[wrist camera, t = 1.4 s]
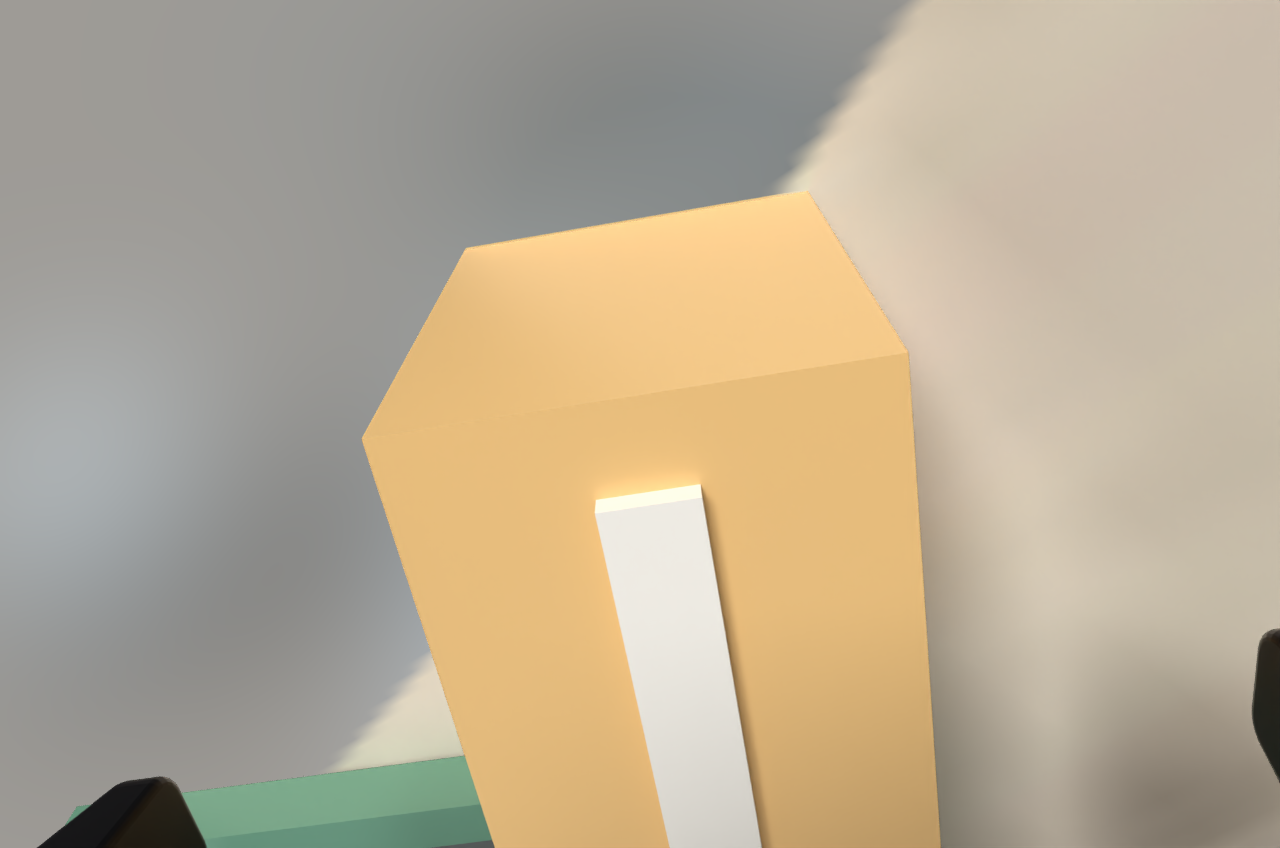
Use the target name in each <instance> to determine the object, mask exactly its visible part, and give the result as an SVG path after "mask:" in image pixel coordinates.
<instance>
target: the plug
mask: <svg viewBox="0 0 1280 848" xmlns="http://www.w3.org/2000/svg"><path fill="white" fill-rule="evenodd" d="M783 194H784V193H783ZM783 194H777V195H771V196H765V197H760V198H754V199H748V200H742V201H736V202H731V203H725V204H719V205H713V206H708V207H701V208H695V209H689V210H684V211H678V212H672V213H666V214H661V215H655V216H649V217H643V218H637V219H631V220H626V221H620V222H614V223H608V224H602V225H596V226H590V227H585V228H579V229H573V230H567V231H561V232H555V233H550V234H544V235H538V236H532V237H527V238H520V239H515V240H509V241H503V242H497V243H492V244H486V245H480V246H474V247H468V248H466V249H465V251H464V253H463V255H462V256H461V258H460V260H459V262H458V264H457V266H456V267H455V269H454V271H453V273H452V275H451V276H450V278H449V280H448V282H447V284H446V286H445V288H444V289H443V291H442V293H441V295H440V297H439V299H438V300H437V302H436V304H435V306H434V308H433V309H432V311H431V313H430V315H429V317H428V318H427V321H426V322H425V324H424V326H423V328H422V329H421V332H420V333H419V335H418V337H417V339H416V340H415V342H414V344H413V346H412V348H411V350H410V351H409V353H408V355H407V357H406V359H405V361H404V363H403V364H402V366H401V368H400V370H399V371H398V373H397V375H396V377H395V379H394V381H393V383H392V384H391V386H390V388H389V390H388V392H387V394H386V395H385V397H384V399H383V401H382V403H381V405H380V406H379V408H378V410H377V412H376V414H375V415H374V417H373V419H372V421H371V423H370V425H369V426H368V428H367V430H366V432H365V434H364V435H363V437H362V442H363V445H364V448H365V451H366V454H367V457H368V460H369V464H370V467H371V470H372V473H373V476H374V479H375V482H376V485H377V488H378V491H379V494H380V497H381V500H382V503H383V506H384V510H385V512H386V516H387V519H388V522H389V525H390V528H391V531H392V534H393V537H394V540H395V543H396V546H397V549H398V552H399V556H400V559H401V562H402V565H403V568H404V571H405V574H406V577H407V580H408V583H409V586H410V589H411V592H412V595H413V598H414V602H415V605H416V607H417V611H418V614H419V617H420V620H421V623H422V626H423V629H424V632H425V635H426V638H427V641H428V644H429V648H430V651H431V654H432V657H433V660H434V663H435V666H436V669H437V672H438V675H439V678H440V681H441V684H442V687H443V690H444V693H445V697H446V700H447V703H448V706H449V709H450V712H451V715H452V718H453V721H454V724H455V727H456V730H457V733H458V736H459V739H460V743H461V746H462V749H463V752H464V755H465V758H466V761H467V764H468V767H469V770H470V773H471V776H472V779H473V782H474V785H475V789H476V792H477V795H478V798H479V801H480V804H481V807H482V810H483V813H484V816H485V819H486V822H487V825H488V828H489V831H490V834H491V838H492V841H493V844H494V847H495V848H941V841H940V826H939V811H938V796H937V780H936V765H935V750H934V735H933V719H932V704H931V689H930V674H929V658H928V643H927V628H926V613H925V597H924V582H923V567H922V552H921V536H920V521H919V506H918V491H917V475H916V460H915V445H914V430H913V414H912V399H911V384H910V369H909V353H908V351H907V349H906V348H905V346H904V345H903V343H902V341H901V340H900V338H899V337H898V335H897V333H896V332H895V330H894V329H893V327H892V325H891V324H890V322H889V321H888V319H887V317H886V316H885V314H884V313H883V311H882V309H881V308H880V306H879V305H878V303H877V301H876V300H875V298H874V297H873V295H872V293H871V292H870V290H869V289H868V287H867V285H866V284H865V282H864V280H863V279H862V277H861V276H860V274H859V272H858V271H857V269H856V268H855V266H854V264H853V263H852V261H851V260H850V258H849V256H848V255H847V253H846V252H845V250H844V248H843V247H842V245H841V244H840V242H839V240H838V239H837V237H836V236H835V234H834V232H833V231H832V229H831V228H830V226H829V224H828V223H827V221H826V220H825V218H824V216H823V215H822V213H821V212H820V210H819V208H818V207H817V205H816V204H815V202H814V200H813V199H812V197H811V195H810V194H809V192H808V191H806V192H800V193H794V194H788V195H783Z"/></svg>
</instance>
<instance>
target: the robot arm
mask: <svg viewBox="0 0 1280 848" xmlns="http://www.w3.org/2000/svg"><path fill="white" fill-rule="evenodd" d="M1252 720H1253V725H1254V730H1255V733H1256V735H1257V738H1258V741H1259V743H1260V745H1261V747H1262V749H1263V751H1264V753H1265V755H1266V757H1267V759H1268V761H1269V763H1270V765H1271V767H1272V768H1273V770H1274V772H1275V774H1276V776H1277V778H1278V780H1279V782H1280V628H1279V629H1273V630H1270V631H1268V632H1266V633H1265V634H1264V635H1263V636H1262V638H1261V640H1260V642H1259V647H1258V654H1257V663H1256V673H1255V683H1254V692H1253V702H1252ZM37 848H207V846H206V843H205V840H204V838H203V836H202V834H201V832H200V830H199V828H198V826H197V824H196V822H195V820H194V818H193V815H192V813H191V811H190V809H189V807H188V805H187V803H186V801H185V799H184V797H183V795H182V793H181V791H180V789H179V787H178V786H177V784H176V783H175V782H174V781H172V780H171V779H170V778H167V777H152V778H145V779H137V780H130V781H126V782H122V783H120V784H117V785H116V786H114V787H113V788H112V789H110V790H109V791H108V792H107V793H105V794H104V795H103V796H102V797H100V798H99V799H98V800H97V801H95V802H94V803H93V804H91V805H90V806H89V807H88V808H86V809H85V810H84V811H83V812H81V813H80V814H79V815H78V816H76V817H75V818H74V819H73V820H71V821H70V822H69V823H68V824H66V825H65V826H64V827H63V828H61V829H60V830H59V831H57V832H56V833H55V834H54V835H52V836H51V837H50V838H49V839H47V840H46V841H45V842H44V843H43V844H41V845H40V846H39V847H37Z"/></svg>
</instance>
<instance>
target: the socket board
mask: <svg viewBox="0 0 1280 848" xmlns="http://www.w3.org/2000/svg"><path fill="white" fill-rule="evenodd" d="M182 795H183V797H184V799H185V801H186V803H187V805H188V807H189V809H190V811H191V813H192V815H193V818H194V820H195V822H196V824H197V826H198V828H199V830H200V832H201V834H202V836H203V838H204V840H205V843H206V846H207V848H495V847H494V844H493V841H492V838H491V834H490V831H489V828H488V825H487V822H486V819H485V816H484V813H483V810H482V807H481V804H480V801H479V798H478V795H477V792H476V789H475V785H474V782H473V779H472V776H471V773H470V770H469V767H468V764H467V761H466V758H465V756H460V757H452V758H444V759H437V760H429V761H422V762H414V763H406V764H399V765H391V766H383V767H376V768H368V769H360V770H353V771H345V772H337V773H330V774H322V775H314V776H307V777H300V778H292V779H285V780H276V781H269V782H261V783H254V784H246V785H238V786H230V787H223V788H215V789H207V790H200V791H192V792H185V793H182ZM89 806H90V805H85V806H78V807H76V809H75V811H74V812H73V814H72V815H71V817H70V818H69V820H68V821H67V823H66V824H68V823H69V822H70V821H71V820H73V819H74V818H75V817H76V816H78V815H79V814H80V813H81V812H83V811H84V810H85V809H86V808H88V807H89Z"/></svg>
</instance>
